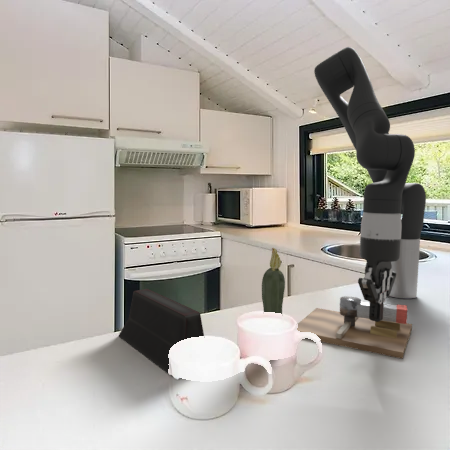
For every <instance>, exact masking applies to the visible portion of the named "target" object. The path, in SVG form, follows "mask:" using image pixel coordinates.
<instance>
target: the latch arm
mask: <svg viewBox="0 0 450 450" xmlns="http://www.w3.org/2000/svg"><path fill="white" fill-rule="evenodd" d="M339 299H340V300H339V312H340V314H341V315H343V316H346V317H360V318H367V319H369V309H370V302H369V301H363V300H362V299H361V298H358V297H356V296H348V295H347V296H346V295H345V296H341V297H340V298H339ZM382 321H389V322H396V323H402V324H407V323H408V322H407V321H408V305H405V304H387V303H384V304H383V319H382Z"/></svg>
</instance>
